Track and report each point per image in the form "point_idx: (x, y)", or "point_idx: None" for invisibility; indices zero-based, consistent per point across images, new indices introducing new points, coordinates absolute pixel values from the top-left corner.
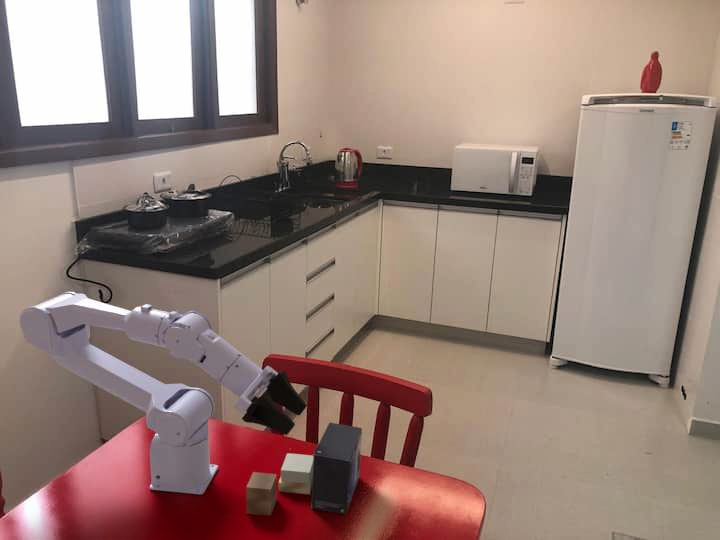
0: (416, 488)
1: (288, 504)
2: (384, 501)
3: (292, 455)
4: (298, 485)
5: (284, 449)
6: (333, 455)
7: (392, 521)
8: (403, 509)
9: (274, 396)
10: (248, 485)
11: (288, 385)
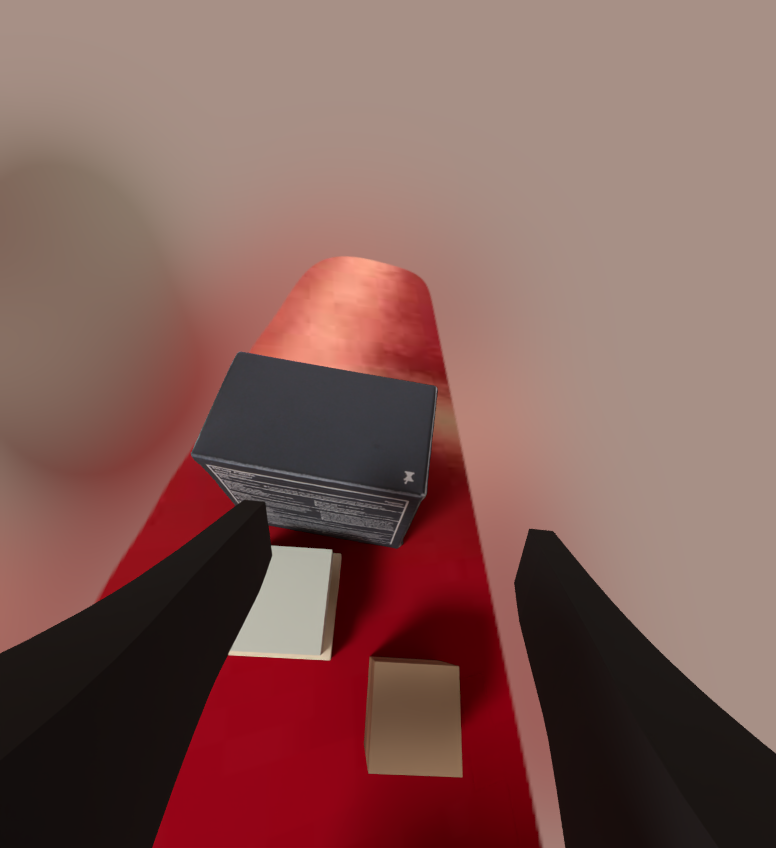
0: (313, 335)
1: (386, 614)
2: None
3: None
4: (337, 590)
5: None
6: (421, 429)
7: (416, 381)
8: (379, 361)
9: (152, 788)
10: (451, 770)
11: (120, 637)
